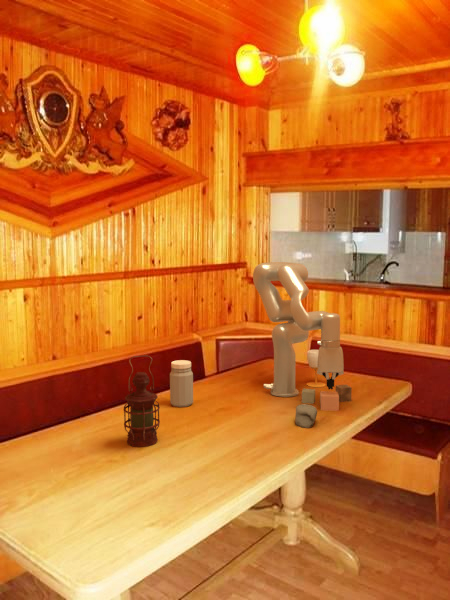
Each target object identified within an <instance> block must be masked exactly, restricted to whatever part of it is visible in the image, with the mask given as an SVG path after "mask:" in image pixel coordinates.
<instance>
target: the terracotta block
mask: <svg viewBox="0 0 450 600" xmlns="http://www.w3.org/2000/svg"><path fill="white" fill-rule="evenodd" d="M319 407H320V411H328V410H329V411H331V412H332V411H333V412H334V411H336V412H339V411H340V410H339V409H340V401H339V395H338V392H336V391H325V390H324V391H323V390H322V391H321V390H320V393H319Z"/></svg>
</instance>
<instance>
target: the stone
mask: <svg viewBox="0 0 450 600" xmlns="http://www.w3.org/2000/svg"><path fill="white" fill-rule="evenodd" d="M317 415H318V409H317V407H315V406H313V405H312V404H308V403H301V404H298V405H297V406H296V407H295V415H294V416H295V417H294V419H295V420H294V422H295V425H296V426H297V427H300V428H302V429H304V428H305V429H310V428H312V427H313V426H314V424H315V421H316V419H317Z"/></svg>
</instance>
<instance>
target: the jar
mask: <svg viewBox="0 0 450 600" xmlns="http://www.w3.org/2000/svg"><path fill="white" fill-rule="evenodd" d="M170 366H171V367H170V368H171V371H170V372H169V387H170V388H169V402H170V404H171V405H172V406H173V407H175V408H186V407H190V406H192V404H193V403H194V373H193V371H192V362H191V360H185V359H179V360H174V361H171V365H170Z"/></svg>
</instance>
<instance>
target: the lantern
mask: <svg viewBox="0 0 450 600" xmlns="http://www.w3.org/2000/svg"><path fill="white" fill-rule="evenodd" d="M140 357H141V358H142V357H147V358H150V363H149V365H148V371H149V374H150V375H151V377H152V385H150V387H149V389H150V390H151V391H149V390H147V386H149V384H150V381H151V380H150V378H149V375H148V374H147V373H146V372H145V371H143V372H142V371H138V372H136V373H135V375H134V377H133V379H132V383H133V386H134V387H136V390H135V391H134V392H133V387H131V382H130V381H131V377H132V375H133V372H134V368H133V365H132V362H131V361H132V359H134V358H140ZM128 362H129V365H130V366H131V373H130V376H129V377H128V392H129V394H127V395H126V396H125V401H127V402H126V403H125V405H124V406H123V413H124V414H123V415H124V416H123V419H124V421H123V422H124V423H123V425H124V427H123V428H124V430H125V432H126V433H127V440H126V443H127V445H129V446H131V447H135V448H144V447H145V448H146V447H151V446H154V445H156V444H157V443H158V440H159V439H158V436H157V435H158V432H157V430H158V429H159V427H160V424H161V421H160V404H159V402H158V401H157V399H158V395H157V394H156V393H155V392H153V391H154V390H155V379H154V375H153V373H152V372H151V369H150V367H151V365H152V362H153V358H152V357H151V356H150V355H147V354H146V355H145V354H144V355H134V356H131V357H129V360H128ZM130 389H131V390H130ZM155 402H156V403H155ZM126 414H128V415H127V417H128V418H126ZM126 419H127V420H126ZM127 423H128V425H127ZM127 429H129V430H127Z"/></svg>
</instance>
